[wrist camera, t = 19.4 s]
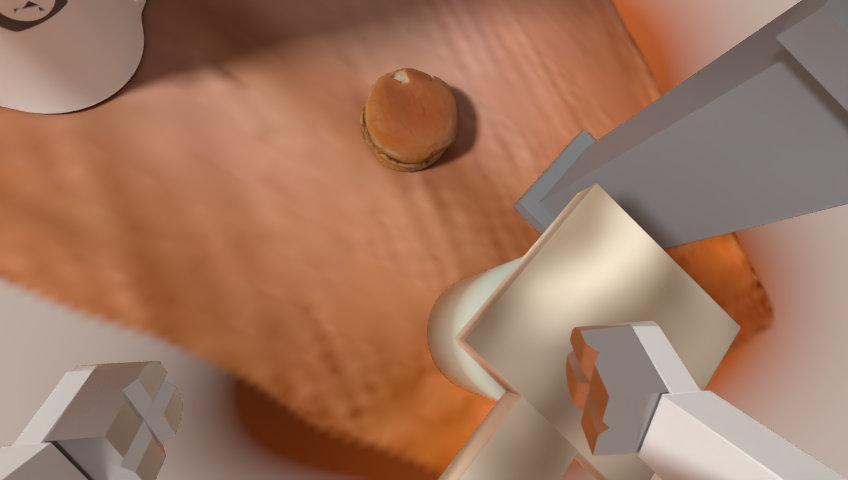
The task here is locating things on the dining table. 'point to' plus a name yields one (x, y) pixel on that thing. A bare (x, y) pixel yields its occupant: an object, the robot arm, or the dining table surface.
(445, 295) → the crock
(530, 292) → the cutting board
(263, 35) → the dining table surface
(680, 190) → the plinth
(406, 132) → the burger
